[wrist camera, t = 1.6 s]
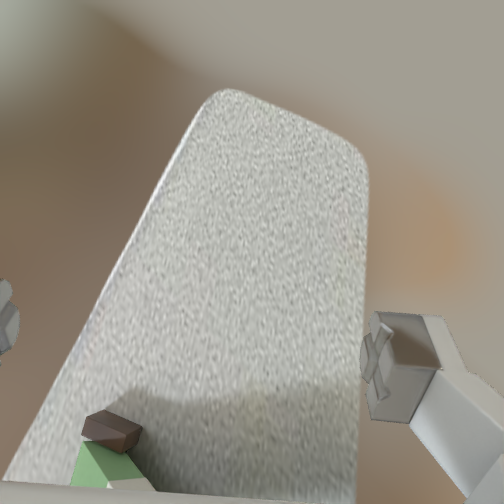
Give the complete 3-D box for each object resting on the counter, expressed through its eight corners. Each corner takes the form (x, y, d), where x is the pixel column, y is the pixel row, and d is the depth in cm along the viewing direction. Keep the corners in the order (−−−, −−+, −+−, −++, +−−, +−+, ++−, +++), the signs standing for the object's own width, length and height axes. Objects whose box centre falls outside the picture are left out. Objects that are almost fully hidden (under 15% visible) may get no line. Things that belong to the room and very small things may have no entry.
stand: (142, 426, 39) (127, 434, 37) (109, 538, 39) (91, 554, 37) (103, 409, 40) (86, 416, 38) (71, 518, 40) (51, 533, 38)
